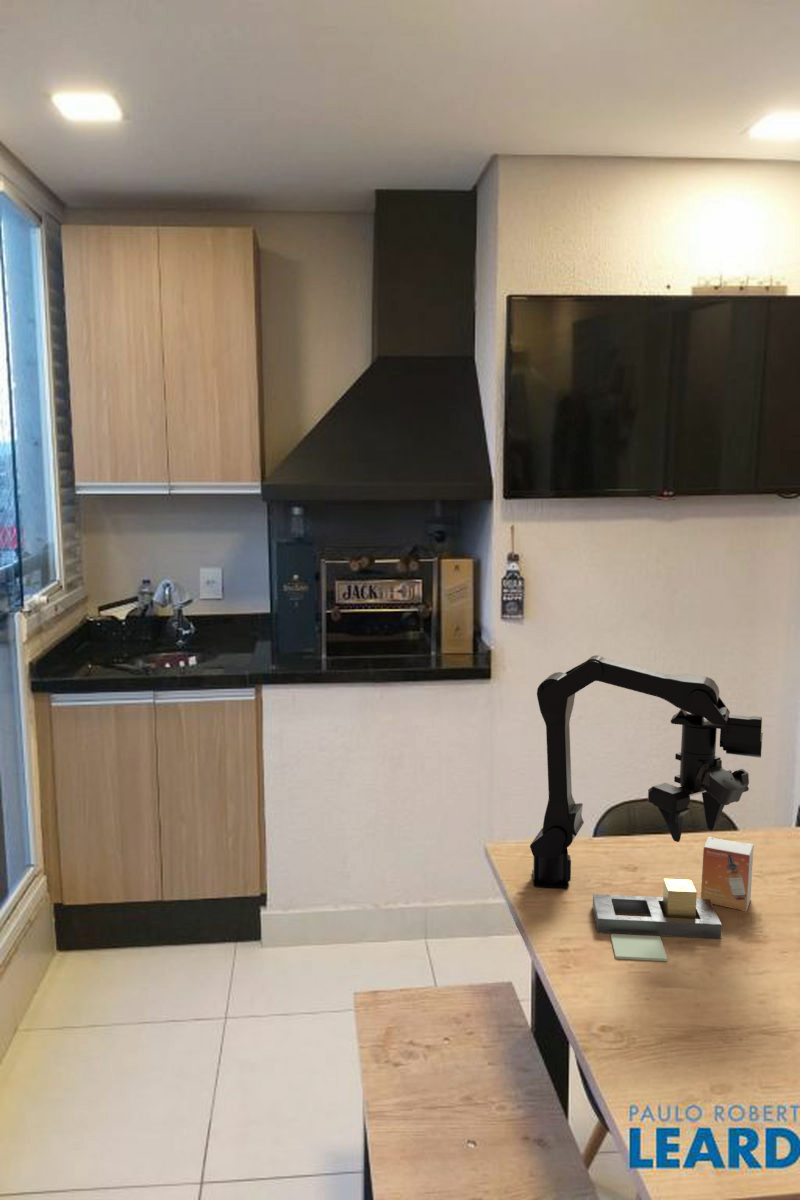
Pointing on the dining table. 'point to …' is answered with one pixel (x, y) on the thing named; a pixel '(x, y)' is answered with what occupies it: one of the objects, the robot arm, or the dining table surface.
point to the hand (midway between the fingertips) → (693, 835)
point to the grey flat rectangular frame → (652, 917)
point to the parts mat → (638, 947)
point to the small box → (727, 873)
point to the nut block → (679, 899)
